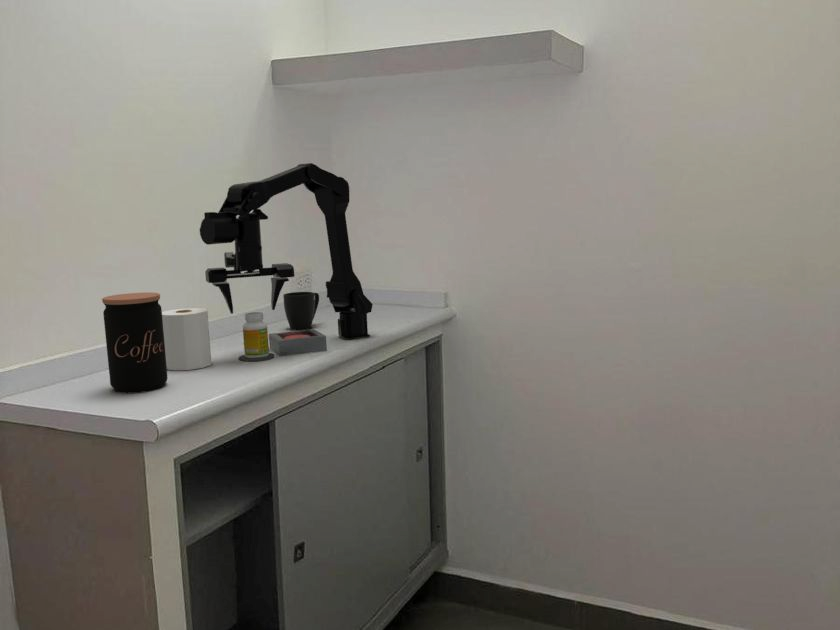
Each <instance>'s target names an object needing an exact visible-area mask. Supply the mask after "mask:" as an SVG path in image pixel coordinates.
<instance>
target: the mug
mask: <svg viewBox="0 0 840 630" xmlns="http://www.w3.org/2000/svg"><path fill="white" fill-rule="evenodd" d="M282 296H283V297H282V298H283V307H284V312H285V316H286V319H287V322H288V325H289V328H290V330H291V331H301V330H311V329H312V326H313V325H312V324H313V321H314V319H315V315H316V313H317V309H318V307H319V302H320V295H319V293H317V292H312V291H295V292H287V293H283V295H282Z"/></svg>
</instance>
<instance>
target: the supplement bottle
mask: <svg viewBox="0 0 840 630" xmlns="http://www.w3.org/2000/svg"><path fill="white" fill-rule="evenodd" d="M244 319H245V321H246V322H245V323H244V324H243V325H242V334H243V335H242V336H243V349H244V355H245V357H247V358H261V357H266V356H268V355H269V353H270V345H269V332H268V324H267V323H266V322H265V321H263V320H264V312H260V311H256V312H255V311H253V312H246V313H245V314H244Z"/></svg>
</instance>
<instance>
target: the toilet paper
mask: <svg viewBox="0 0 840 630" xmlns="http://www.w3.org/2000/svg"><path fill="white" fill-rule="evenodd" d="M208 314H209V311H208V308H201V307H197V308H196V307H194V308H193V307H191V308H187V307H185V308H177V309H168V310H165V311H162V320H163V332H164V343H165V354H166V365H167V371H168V370H169V371H192V370H197V369H198V370H199V369H203V368H207V367H209V366H211V365H212V363H213V362H212V352H211V337H210V325H209V315H208Z"/></svg>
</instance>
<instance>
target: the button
mask: <svg viewBox="0 0 840 630" xmlns="http://www.w3.org/2000/svg"><path fill="white" fill-rule="evenodd" d="M301 337H310V336H309V335H291V336H286V337H284V339H291V338H301Z"/></svg>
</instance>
